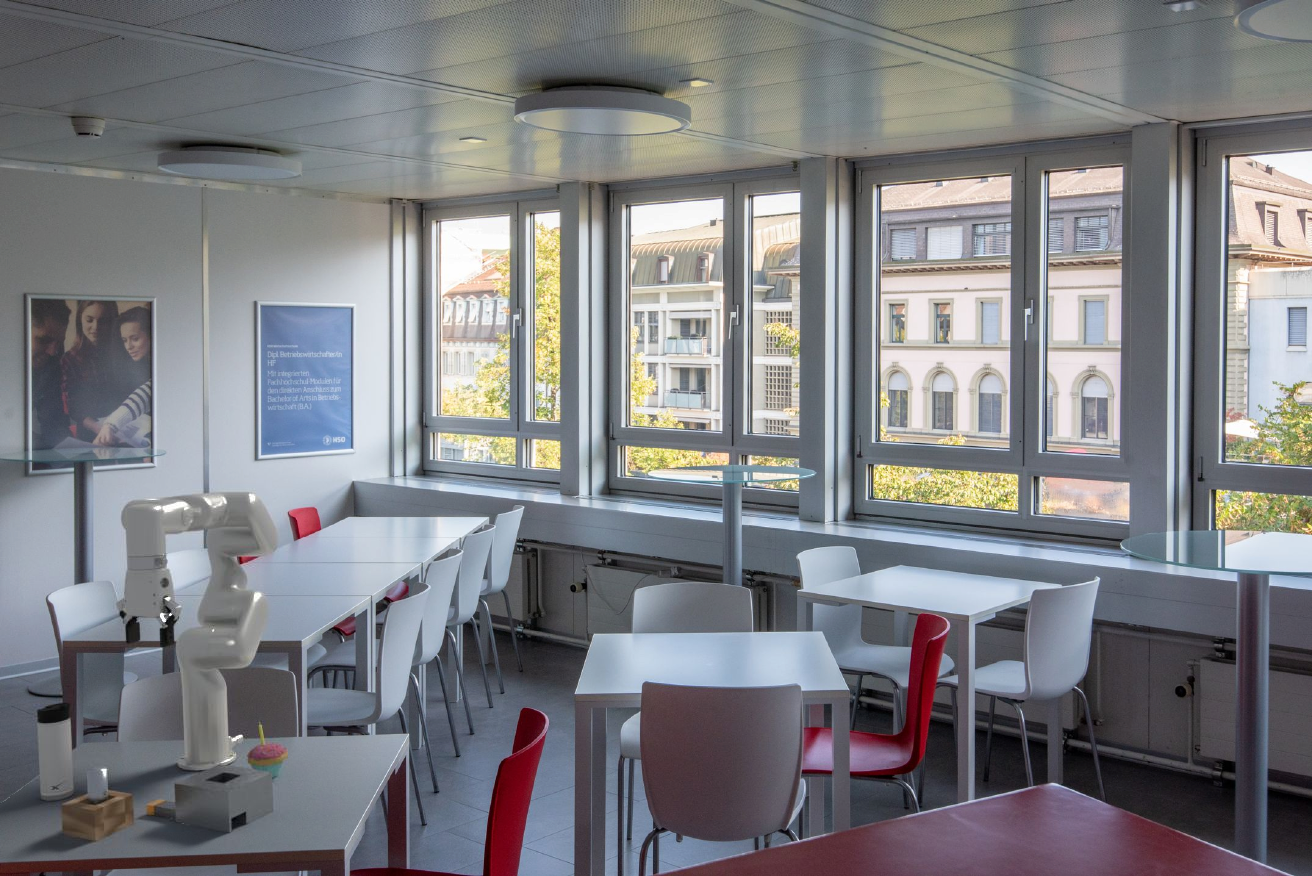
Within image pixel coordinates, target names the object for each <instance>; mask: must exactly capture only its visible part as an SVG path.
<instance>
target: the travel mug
mask: <svg viewBox="0 0 1312 876" xmlns="http://www.w3.org/2000/svg"><path fill="white" fill-rule="evenodd" d="M70 707H71V704H70V702H59V703H54V704H49V705H47V706H44V707H43V708H38V709H37V710H36V715H37V716H36V717H37V721H36V723H37V742H38V743H37V744H38V748H37V749H38V762H39V763H38V765H39V766H38V767H39V785H40V786H39V787H40V799H41V800H42V801H45V802H46V801H47V802H55V801H60V800H64V799H68V798H70V797H71V796H72V795H73V794H74V791H75V790H74V770H73V769H74V766H73V746H72V745H73V744H72V742H73V741H72V724H71V711H70V710H71V709H70Z"/></svg>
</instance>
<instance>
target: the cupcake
mask: <svg viewBox="0 0 1312 876" xmlns="http://www.w3.org/2000/svg"><path fill="white" fill-rule="evenodd" d="M258 731H259V737H260V742H261V744H258V745H256V746H255V747H253V748H251V749H250V751H249V752H248V753H247V755H246V758H247V763H248V764H249V765H250V766H251V769H254V770H261V771H267V772H272V779H274V778H276V777H278V776H279V775H280V772H281V771H280V770H281V767H282V765H283V762H284V761H285V760H286V759H287V758H288V757H289V754H288V750H287V748H286V747H284V746H283V745H281V744H279V743H274V742H273V743H271V742H269V743H268V742H267V743H266V742H265V737H264V732H263V726H262V724H261V722H260V721H258Z"/></svg>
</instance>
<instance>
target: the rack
mask: <svg viewBox="0 0 1312 876" xmlns="http://www.w3.org/2000/svg"><path fill="white" fill-rule="evenodd" d="M134 812H135V808H134V794H132V793H127V792H123V791H122V792H121V791H117V790H109V789H108V801H105V802H103V803H100V804H98V805H91V804H88V793H86V794H84V795H82V796H77V797H76V798H74V799H71V800H68V801H66V802H64V803H61V826H62V835H63V834H64V835H63V836H70V837H74V838H78V837H81V838H80V839H83V840H89V841H93V842H97V841H99V840H101V839H104V838H106V837H108V836H110V835H113V834H114V832H115V833H117V832H119V831H122V830H124V829H126V828H128V827H130V825H131V826H133V825H134V824H135V813H134ZM127 826H128V827H127ZM125 827H126V828H125ZM123 828H124V829H123ZM121 829H122V830H121ZM116 831H117V832H116Z"/></svg>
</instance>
